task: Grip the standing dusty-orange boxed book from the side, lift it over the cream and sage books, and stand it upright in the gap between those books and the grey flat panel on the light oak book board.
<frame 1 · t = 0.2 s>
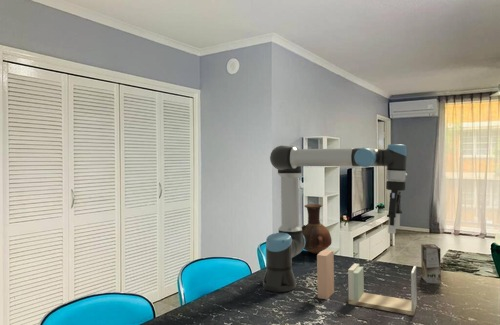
hand: (394, 230, 154), 27 cm above the table, tool pointing down, fingers open, 13 cm apart
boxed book: (326, 294, 155), on the table
grey flat panel: (413, 287, 138), on the book board, point 8 cm above the table
books: (356, 281, 149), on the book board, point 8 cm above the table
vase: (315, 254, 223), on the table
book board: (382, 304, 144), on the table
coffee box: (431, 280, 171), on the table
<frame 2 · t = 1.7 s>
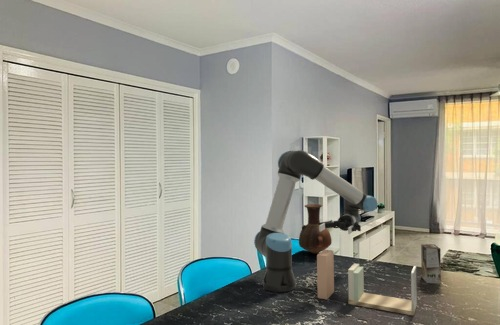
hand: (334, 229, 166), 26 cm above the table, tool horizontal, fingers open, 13 cm apart
nothing on the table moved.
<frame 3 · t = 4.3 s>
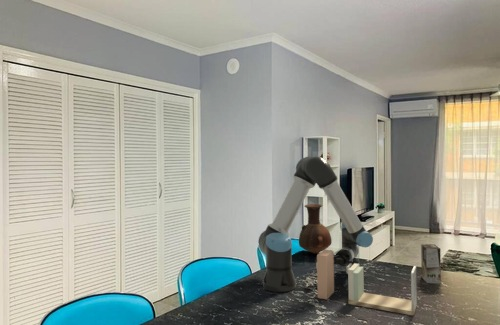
hand: (331, 268, 160), 10 cm above the table, tool horizontal, fingers open, 13 cm apart
nothing on the table moved.
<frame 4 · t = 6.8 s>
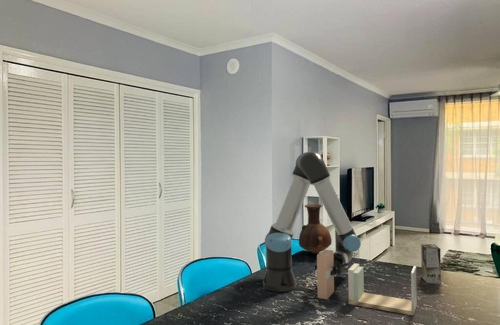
hand: (321, 274, 151), 10 cm above the table, tool horizontal, fingers closed on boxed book, 4 cm apart
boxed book: (326, 294, 155), on the table, touching gripper
everything else where it was.
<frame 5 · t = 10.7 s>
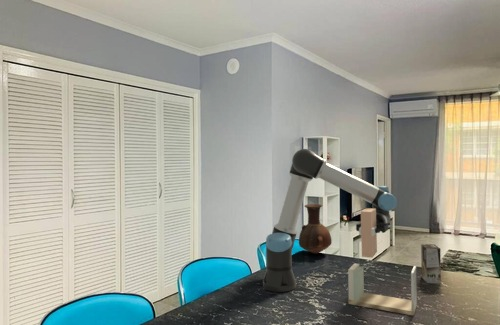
hand: (366, 231, 143), 29 cm above the table, tool horizontal, fingers closed on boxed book, 4 cm apart
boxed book: (369, 254, 147), point 19 cm above the table, touching gripper
everything else where it was.
when the fingers open (12 cm above the table, at t = 14.7 s): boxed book stays where it is, resting on book board.
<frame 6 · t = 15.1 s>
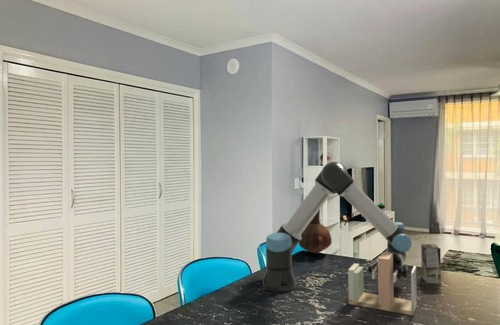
hand: (383, 277, 139), 12 cm above the table, tool horizontal, fingers open, 7 cm apart
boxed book: (386, 301, 143), point 1 cm above the table, touching book board
everything else where it was.
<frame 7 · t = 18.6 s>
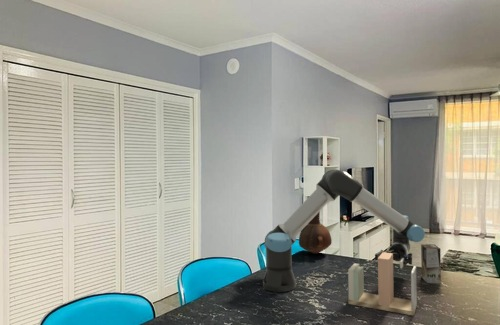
hand: (390, 263, 151), 14 cm above the table, tool horizontal, fingers open, 8 cm apart
nothing on the table moved.
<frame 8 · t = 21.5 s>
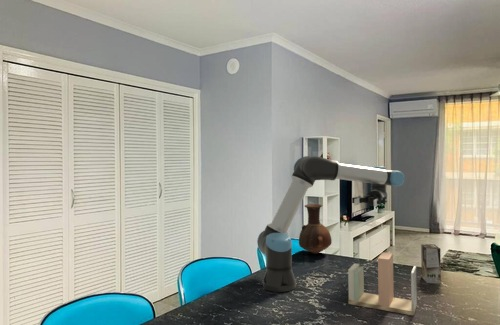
hand: (364, 202, 164), 38 cm above the table, tool horizontal, fingers open, 8 cm apart
nothing on the table moved.
at the end: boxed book inside the target area on the book board (0.0 cm from its centre), point 1.5 cm above the book board's base; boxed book tilted 0°; the gripper is holding nothing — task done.
